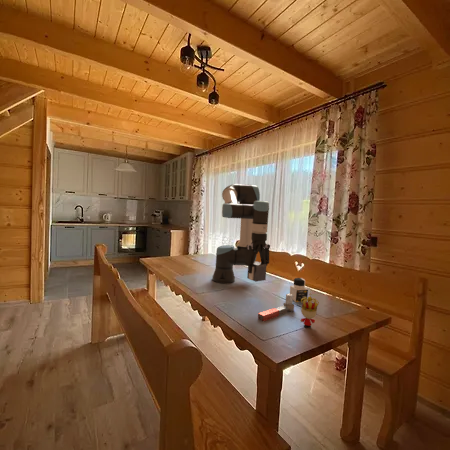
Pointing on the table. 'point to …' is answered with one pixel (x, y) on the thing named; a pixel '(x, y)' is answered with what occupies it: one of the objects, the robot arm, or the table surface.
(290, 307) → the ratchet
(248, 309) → the table surface
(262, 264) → the dark wooden cube
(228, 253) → the robot arm
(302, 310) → the toy
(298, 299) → the medicine bottle
